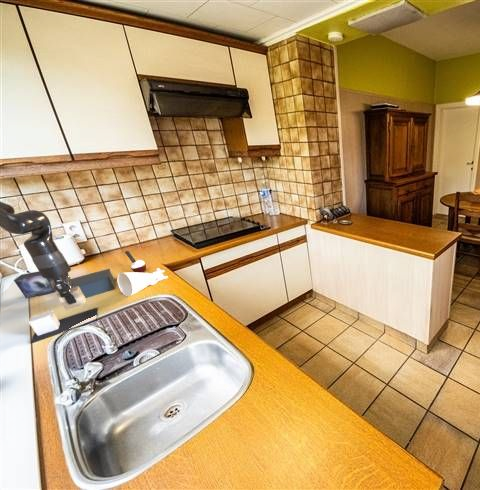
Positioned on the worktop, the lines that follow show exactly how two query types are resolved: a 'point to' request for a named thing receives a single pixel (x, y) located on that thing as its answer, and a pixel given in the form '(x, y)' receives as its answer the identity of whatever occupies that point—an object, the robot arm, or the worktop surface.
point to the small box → (34, 284)
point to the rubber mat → (67, 324)
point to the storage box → (95, 283)
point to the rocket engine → (138, 281)
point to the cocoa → (136, 264)
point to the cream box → (77, 295)
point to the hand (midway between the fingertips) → (73, 300)
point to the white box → (44, 322)
